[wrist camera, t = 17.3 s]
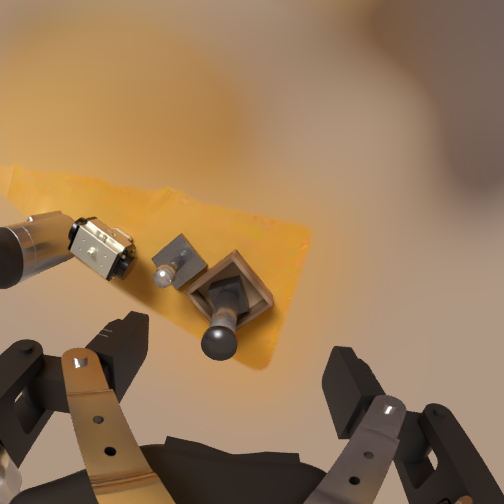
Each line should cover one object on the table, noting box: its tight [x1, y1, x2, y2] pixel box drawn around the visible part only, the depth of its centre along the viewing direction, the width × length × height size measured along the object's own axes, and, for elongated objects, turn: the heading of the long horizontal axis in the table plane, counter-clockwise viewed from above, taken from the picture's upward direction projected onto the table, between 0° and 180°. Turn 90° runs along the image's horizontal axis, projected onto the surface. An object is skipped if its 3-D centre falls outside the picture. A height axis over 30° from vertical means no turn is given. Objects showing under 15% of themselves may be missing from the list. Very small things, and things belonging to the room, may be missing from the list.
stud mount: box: [152, 233, 207, 290], centre depth 45 cm, size 7×7×11 cm
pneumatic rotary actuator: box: [68, 217, 137, 281], centre depth 43 cm, size 6×12×12 cm, turn 56°
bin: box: [185, 249, 274, 331], centre depth 49 cm, size 10×10×5 cm
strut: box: [201, 275, 249, 361], centre depth 41 cm, size 5×5×18 cm
